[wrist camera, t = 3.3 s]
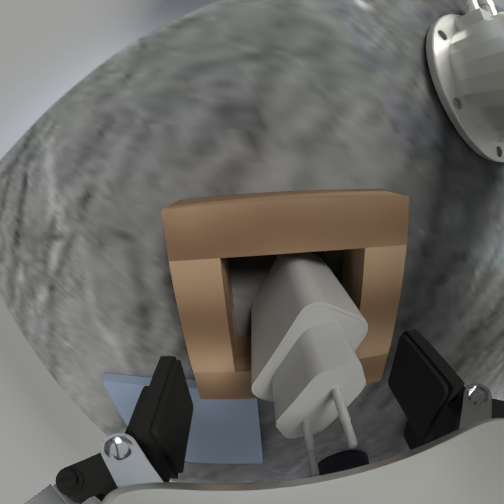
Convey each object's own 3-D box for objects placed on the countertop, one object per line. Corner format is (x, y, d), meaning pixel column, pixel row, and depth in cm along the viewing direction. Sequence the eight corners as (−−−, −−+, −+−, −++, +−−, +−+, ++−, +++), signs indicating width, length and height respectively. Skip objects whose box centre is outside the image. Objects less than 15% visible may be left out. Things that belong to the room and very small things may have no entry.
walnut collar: (179, 200, 15) (161, 209, 12) (380, 189, 15) (409, 196, 12) (207, 365, 19) (200, 399, 16) (364, 351, 19) (380, 380, 16)
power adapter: (329, 261, 17) (433, 409, 5) (288, 329, 18) (322, 495, 7) (285, 240, 16) (351, 398, 5) (247, 313, 18) (244, 490, 6)
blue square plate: (105, 372, 20) (101, 380, 19) (255, 378, 19) (255, 387, 18) (149, 450, 24) (147, 456, 23) (263, 456, 23) (263, 463, 22)
